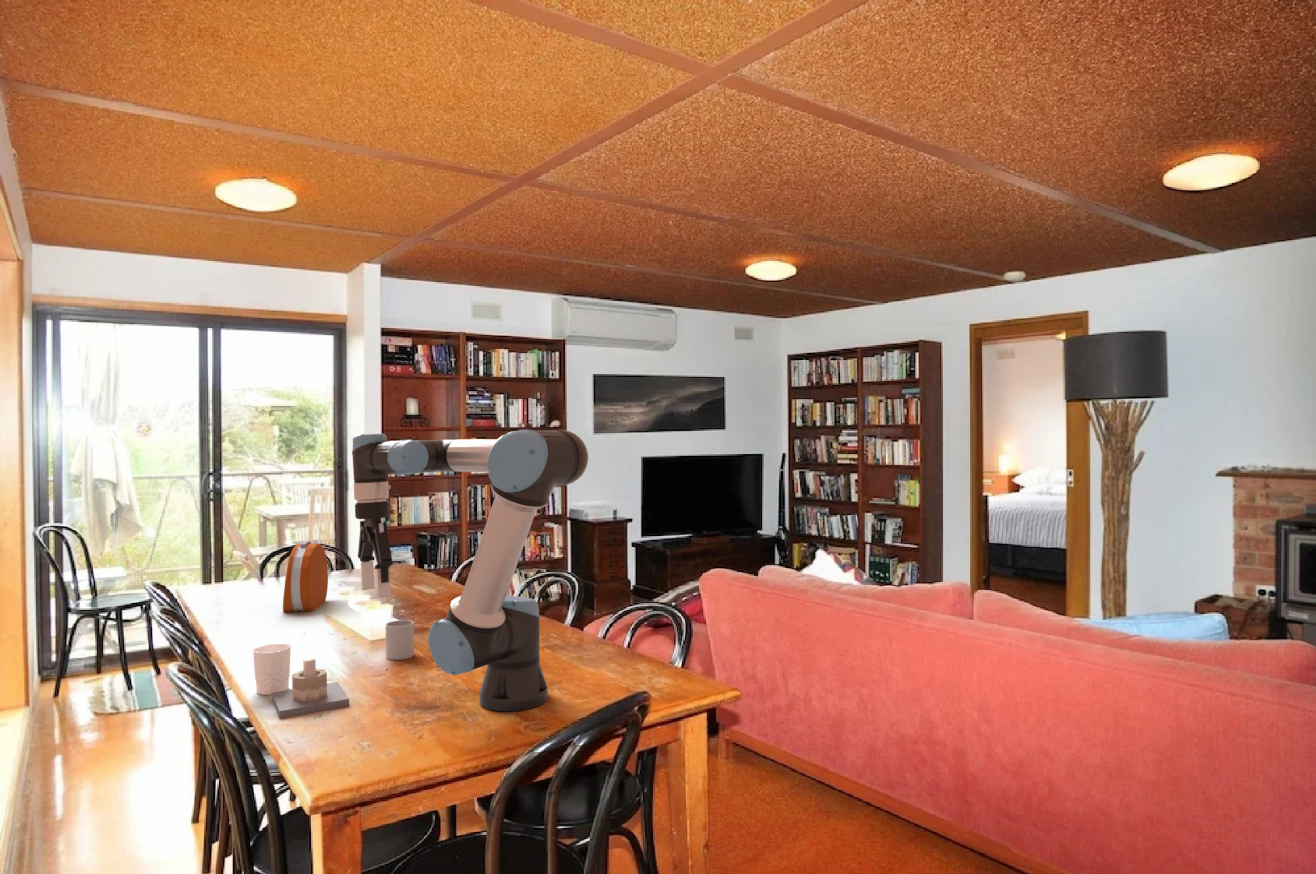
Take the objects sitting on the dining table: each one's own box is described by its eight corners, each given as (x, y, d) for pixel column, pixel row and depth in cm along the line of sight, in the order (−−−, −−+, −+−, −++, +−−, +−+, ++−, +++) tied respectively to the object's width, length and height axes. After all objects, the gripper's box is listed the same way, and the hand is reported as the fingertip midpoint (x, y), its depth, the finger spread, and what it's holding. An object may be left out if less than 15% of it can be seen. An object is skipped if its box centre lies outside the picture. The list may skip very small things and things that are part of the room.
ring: (328, 697, 177) (328, 675, 177) (295, 703, 174) (294, 680, 174) (323, 689, 183) (323, 667, 183) (291, 694, 180) (291, 672, 180)
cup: (389, 662, 209) (389, 628, 209) (380, 653, 218) (380, 620, 218) (417, 657, 213) (416, 624, 213) (407, 648, 221) (407, 617, 221)
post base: (349, 705, 176) (348, 662, 176) (279, 718, 169) (278, 673, 169) (337, 688, 188) (336, 648, 188) (272, 699, 181) (271, 657, 181)
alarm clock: (300, 600, 286) (299, 537, 286) (328, 599, 287) (327, 536, 287) (278, 614, 264) (276, 546, 264) (309, 613, 265) (307, 546, 265)
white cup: (266, 698, 182) (266, 654, 182) (247, 692, 186) (246, 650, 186) (298, 688, 189) (297, 646, 188) (278, 683, 193) (277, 642, 193)
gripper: (404, 501, 175) (408, 598, 175) (374, 497, 196) (377, 584, 195) (369, 504, 171) (373, 603, 171) (342, 500, 191) (345, 588, 191)
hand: (375, 593), depth 183 cm, fingers open, 13 cm apart
